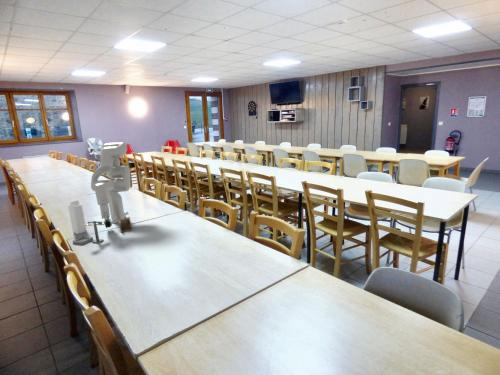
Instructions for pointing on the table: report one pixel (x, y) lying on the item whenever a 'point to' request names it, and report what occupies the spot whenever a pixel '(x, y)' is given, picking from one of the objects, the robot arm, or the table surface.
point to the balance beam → (93, 223)
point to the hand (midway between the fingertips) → (108, 225)
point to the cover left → (125, 225)
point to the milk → (77, 217)
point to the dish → (83, 240)
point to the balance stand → (96, 235)
